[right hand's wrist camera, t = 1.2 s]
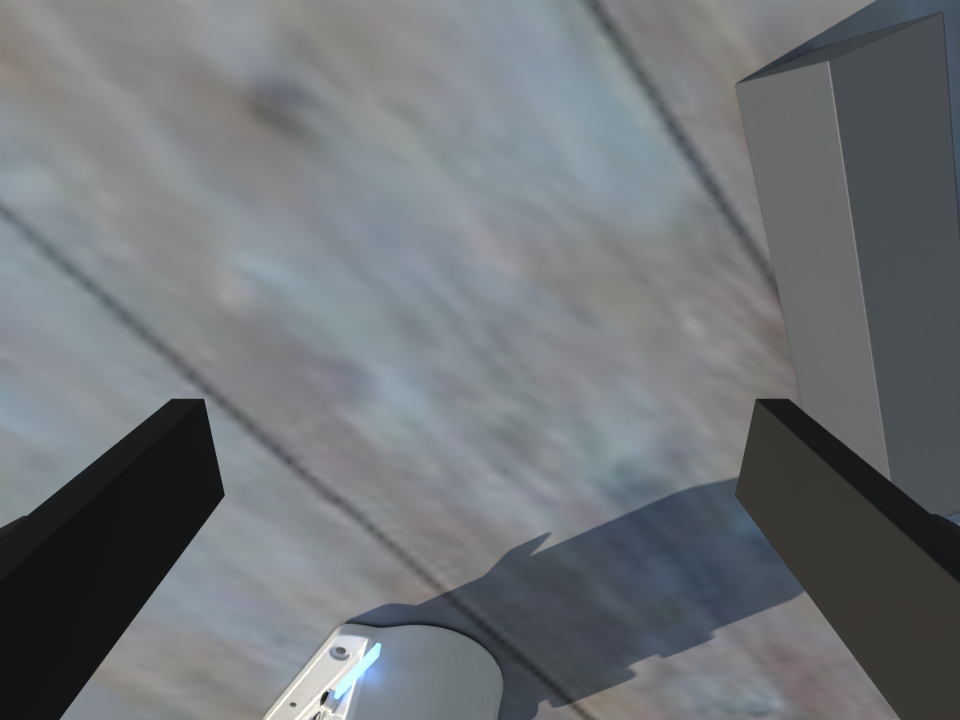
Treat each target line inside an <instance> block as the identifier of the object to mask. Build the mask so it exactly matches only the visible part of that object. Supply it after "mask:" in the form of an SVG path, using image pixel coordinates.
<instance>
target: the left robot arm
mask: <svg viewBox="0 0 960 720" xmlns="http://www.w3.org/2000/svg"><path fill="white" fill-rule="evenodd" d="M502 694H503V677H502V673H501V670H500V668H499V666H498V664H497V662H496V661H495V659H494V658H493V657H492V656H491V654H490V653H489V652H488V651H487V650H486V649H485V648H483V647H482V646H481V645H480V644H478V643H477V642H475V641H474V640H472V639H470V638H468V637H466V636H464V635H462V634H460V633H457V632H455V631H452V630H448V629H444V628H440V627H435V626H427V625H404V626H396V627H387V628H377V627H371V626H366V625H360V624H343V625H341V626H339V627H338V628H337V629H336V630H335V631H334V632H333V633H332V635H331V636H330V637H329V638H328V639H327V641H326V642H325V643H324V644H323V646H322V647H321V648H320V649H319V650H318V652H317V653H316V654H315V655H314V656H313V658H312V659H311V660H310V661H309V662H308V664H307V665H306V666H305V667H304V669H303V670H302V671H301V672H300V673H299V675H298V676H297V677H296V678H295V679H294V681H293V682H292V683H291V684H290V686H289V687H288V688H287V689H286V690H285V692H284V693H283V694H282V695H281V696H280V698H279V699H278V700H277V701H276V702H275V704H274V705H273V706H272V707H271V709H270V710H269V711H268V712H267V714H266V715H265V717H264V719H263V720H498V714H499V708H500V703H501V699H502Z"/></svg>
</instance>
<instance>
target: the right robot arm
mask: <svg viewBox="0 0 960 720" xmlns="http://www.w3.org/2000/svg"><path fill="white" fill-rule="evenodd" d="M224 496H225V494H224V489H223V485H222V480H221V475H220V471H219V466H218V461H217V457H216V452H215V448H214V443H213V438H212V434H211V429H210V424H209V420H208V415H207V410H206V406H205V401H204V399H171V400H170V401H169V402H167V403H166V404H165V405H164V406H162V407H161V408H160V409H159V410H157V411H156V412H155V413H154V414H152V415H151V416H150V417H149V418H148V419H146V420H145V421H144V422H143V423H141V424H140V425H139V426H138V427H136V428H135V429H134V430H133V431H131V432H130V433H129V434H128V435H126V436H125V437H124V438H123V439H122V440H120V441H119V442H118V443H117V444H115V445H114V446H113V447H112V448H110V449H109V450H108V451H107V452H105V453H104V454H103V455H102V456H101V457H99V458H98V459H97V460H96V461H94V462H93V463H92V464H91V465H89V466H88V467H87V468H86V469H84V470H83V471H82V472H81V473H79V474H78V475H77V476H76V477H75V478H73V479H72V480H71V481H70V482H68V483H67V484H66V485H65V486H63V487H62V488H61V489H60V490H58V491H57V492H56V493H55V494H54V495H52V496H51V497H50V498H49V499H47V500H46V501H45V502H44V503H42V504H41V505H40V506H39V507H37V508H36V509H35V510H34V511H33V512H31V513H30V514H29V515H28V516H22V517H20V518H19V519H17V520H15V521H13V522H11V523H9V524H7V525H6V526H4V527H2V528H0V720H59V719H60V718H61V717H62V715H63V714H64V713H65V711H66V710H67V709H68V707H69V706H70V705H71V703H72V702H73V701H74V699H75V698H76V696H77V695H78V694H79V692H80V691H81V690H82V688H83V687H84V686H85V684H86V683H87V682H88V680H89V679H90V678H91V676H92V675H93V673H94V672H95V671H96V669H97V668H98V667H99V665H100V664H101V663H102V661H103V660H104V659H105V657H106V656H107V655H108V653H109V652H110V650H111V649H112V648H113V646H114V645H115V644H116V642H117V641H118V640H119V638H120V637H121V636H122V634H123V633H124V631H125V630H126V629H127V627H128V626H129V625H130V623H131V622H132V621H133V619H134V618H135V617H136V615H137V614H138V612H139V611H140V610H141V608H142V607H143V606H144V604H145V603H146V602H147V600H148V599H149V598H150V596H151V595H152V594H153V592H154V591H155V589H156V588H157V587H158V585H159V584H160V583H161V581H162V580H163V579H164V577H165V576H166V575H167V573H168V572H169V570H170V569H171V568H172V566H173V565H174V564H175V562H176V561H177V560H178V558H179V557H180V556H181V554H182V553H183V551H184V550H185V549H186V547H187V546H188V545H189V543H190V542H191V541H192V539H193V538H194V537H195V535H196V534H197V533H198V531H199V530H200V528H201V527H202V526H203V524H204V523H205V522H206V520H207V519H208V518H209V516H210V515H211V514H212V512H213V511H214V509H215V508H216V507H217V505H218V504H219V503H220V501H221V500H222V499H223V497H224ZM735 496H736V497H737V499H738V500H739V501H740V503H741V504H742V505H743V507H744V508H745V509H746V511H747V512H748V514H749V515H750V516H751V518H752V519H753V520H754V522H755V523H756V524H757V526H758V527H759V528H760V530H761V531H762V533H763V534H764V535H765V537H766V538H767V539H768V541H769V542H770V543H771V545H772V546H773V547H774V549H775V550H776V551H777V553H778V554H779V556H780V557H781V558H782V560H783V561H784V562H785V564H786V565H787V566H788V568H789V569H790V570H791V572H792V573H793V575H794V576H795V577H796V579H797V580H798V581H799V583H800V584H801V585H802V587H803V588H804V589H805V591H806V592H807V594H808V595H809V596H810V598H811V599H812V600H813V602H814V603H815V604H816V606H817V607H818V608H819V610H820V611H821V612H822V614H823V615H824V617H825V618H826V619H827V621H828V622H829V623H830V625H831V626H832V627H833V629H834V630H835V631H836V633H837V634H838V636H839V637H840V638H841V640H842V641H843V642H844V644H845V645H846V646H847V648H848V649H849V650H850V652H851V653H852V655H853V656H854V657H855V659H856V660H857V661H858V663H859V664H860V665H861V667H862V668H863V669H864V671H865V672H866V673H867V675H868V676H869V678H870V679H871V680H872V682H873V683H874V684H875V686H876V687H877V688H878V690H879V691H880V692H881V694H882V695H883V697H884V698H885V699H886V701H887V702H888V703H889V705H890V706H891V707H892V709H893V710H894V711H895V713H896V714H897V715H898V717H899V718H900V720H960V526H959V525H957V524H955V523H953V522H951V521H949V520H948V519H946V518H944V517H942V516H940V515H938V514H930V513H929V512H927V511H926V510H925V509H924V508H923V507H921V506H920V505H919V504H918V503H916V502H915V501H914V500H913V499H911V498H910V497H909V496H908V495H906V494H905V493H904V492H903V491H902V490H900V489H899V488H898V487H897V486H895V485H894V484H893V483H892V482H890V481H889V480H888V479H887V478H885V477H884V476H883V475H882V474H881V473H879V472H878V471H877V470H876V469H874V468H873V467H872V466H871V465H869V464H868V463H867V462H866V461H864V460H863V459H862V458H861V457H859V456H858V455H857V454H856V453H855V452H853V451H852V450H851V449H850V448H848V447H847V446H846V445H845V444H843V443H842V442H841V441H840V440H838V439H837V438H836V437H835V436H834V435H832V434H831V433H830V432H829V431H827V430H826V429H825V428H824V427H822V426H821V425H820V424H819V423H817V422H816V421H815V420H814V419H812V418H811V417H810V416H809V415H808V414H806V413H805V412H804V411H803V410H801V409H800V408H799V407H798V406H796V405H795V404H794V403H793V402H791V401H790V400H789V399H756V401H755V406H754V410H753V415H752V420H751V424H750V429H749V434H748V438H747V443H746V448H745V452H744V457H743V461H742V466H741V471H740V475H739V480H738V485H737V489H736V494H735Z"/></svg>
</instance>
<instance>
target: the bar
mask: <svg viewBox="0 0 960 720" xmlns="http://www.w3.org/2000/svg"><path fill="white" fill-rule="evenodd" d="M735 86H736V91H737V95H738V100H739V105H740V110H741V114H742V119H743V124H744V129H745V134H746V138H747V143H748V148H749V153H750V158H751V162H752V167H753V172H754V177H755V182H756V186H757V191H758V196H759V201H760V206H761V210H762V215H763V220H764V225H765V230H766V234H767V239H768V244H769V249H770V254H771V258H772V263H773V268H774V273H775V278H776V282H777V287H778V292H779V297H780V302H781V306H782V311H783V316H784V321H785V326H786V330H787V335H788V340H789V345H790V349H791V354H792V359H793V364H794V369H795V373H796V378H797V383H798V388H799V393H800V397H801V402H802V407H803V411H804V412H805V413H806V414H808V415H809V416H810V417H811V418H812V419H814V420H815V421H816V422H817V423H819V424H820V425H821V426H822V427H824V428H825V429H826V430H827V431H829V432H830V433H831V434H832V435H834V436H835V437H836V438H837V439H838V440H840V441H841V442H842V443H843V444H845V445H846V446H847V447H848V448H850V449H851V450H852V451H853V452H855V453H856V454H857V455H858V456H859V457H861V458H862V459H863V460H864V461H866V462H867V463H868V464H869V465H871V466H872V467H873V468H874V469H876V470H877V471H878V472H879V473H881V474H882V475H883V476H884V477H885V478H887V479H888V480H889V481H890V482H892V483H893V484H894V485H895V486H897V487H898V488H899V489H900V490H902V491H903V492H904V493H905V494H906V495H908V496H909V497H910V498H911V499H913V500H914V501H915V502H916V503H918V504H919V505H920V506H921V507H923V508H924V509H925V510H926V511H927V512H929V513H930V514H938V515H940V516H942V517H947V516H950V515H953V514H957V513H960V232H959V218H958V205H957V191H956V178H955V164H954V151H953V137H952V124H951V110H950V97H949V84H948V70H947V57H946V43H945V30H944V16H943V12H939V13H935V14H932V15H928V16H925V17H922V18H918V19H915V20H912V21H908V22H905V23H902V24H898V25H895V26H891V27H888V28H885V29H881V30H878V31H875V32H871V33H868V34H864V35H861V36H858V37H854V38H851V39H848V40H844V41H841V42H837V43H834V44H831V45H827V46H824V47H821V48H817V49H815V50H812V51H810V52H808V53H805V54H803V55H801V56H798V57H796V58H794V59H792V60H789V61H787V62H785V63H782V64H780V65H778V66H775V67H773V68H771V69H768V70H766V71H764V72H762V73H759V74H757V75H755V76H752V77H750V78H748V79H745V80H743V81H741V82H738V83H736V84H735Z"/></svg>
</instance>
